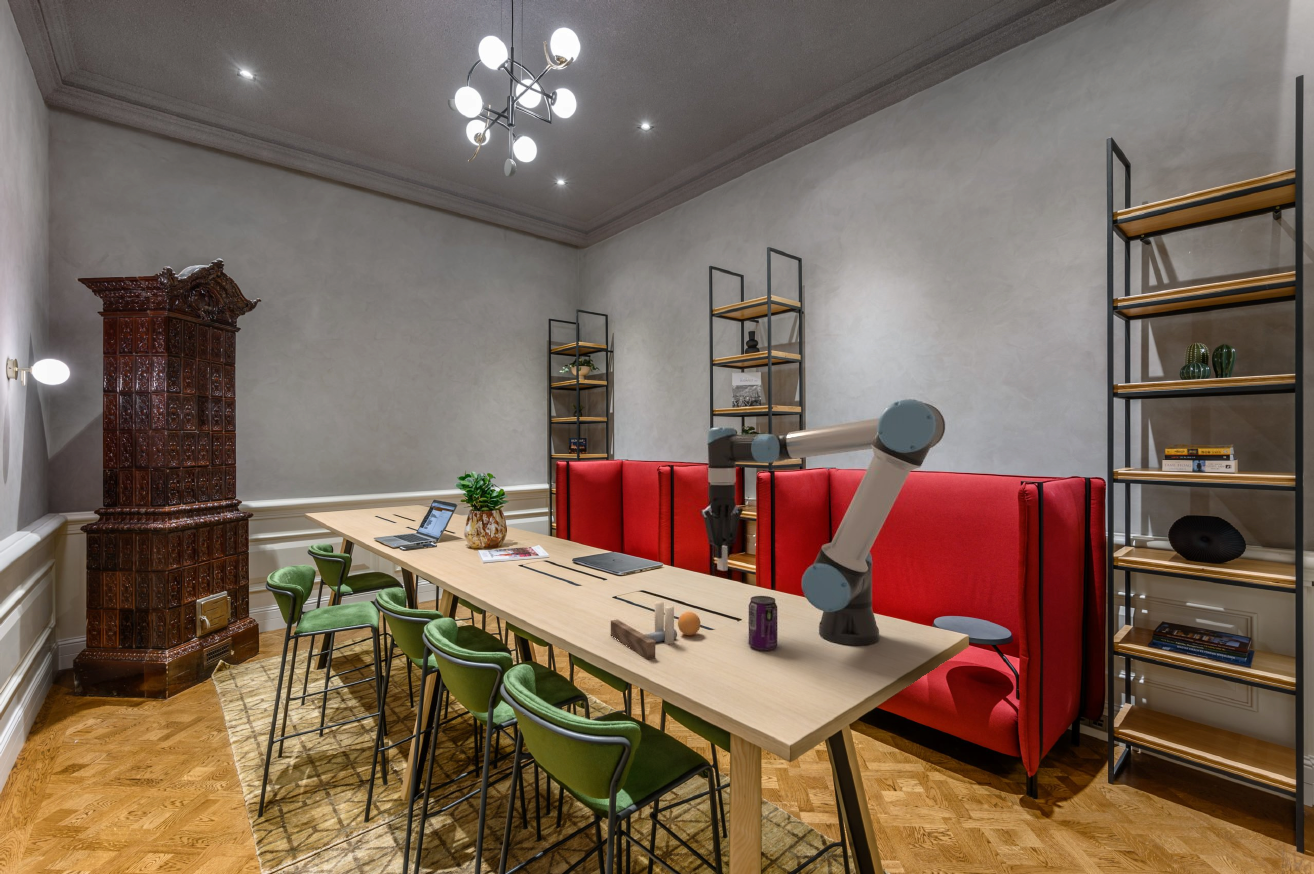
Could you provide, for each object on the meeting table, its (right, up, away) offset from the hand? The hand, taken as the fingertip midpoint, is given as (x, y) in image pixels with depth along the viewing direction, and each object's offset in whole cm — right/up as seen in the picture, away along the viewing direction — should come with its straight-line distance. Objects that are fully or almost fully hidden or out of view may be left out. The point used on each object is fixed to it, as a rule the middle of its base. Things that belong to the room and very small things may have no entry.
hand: (722, 569), depth 162 cm
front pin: (-13, -15, -8) cm, 22 cm away
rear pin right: (-17, -16, -7) cm, 25 cm away
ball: (-9, -13, -5) cm, 17 cm away
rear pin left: (-15, -16, -12) cm, 25 cm away
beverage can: (+8, -16, -15) cm, 23 cm away
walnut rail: (-24, -16, -14) cm, 32 cm away
